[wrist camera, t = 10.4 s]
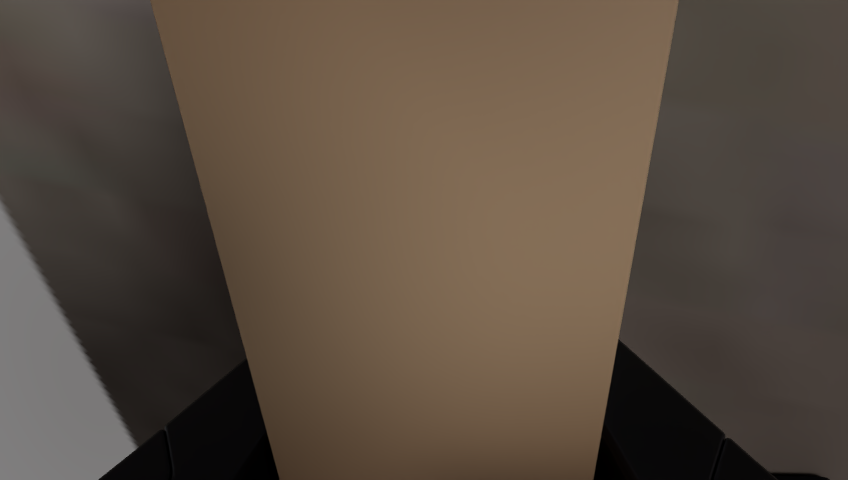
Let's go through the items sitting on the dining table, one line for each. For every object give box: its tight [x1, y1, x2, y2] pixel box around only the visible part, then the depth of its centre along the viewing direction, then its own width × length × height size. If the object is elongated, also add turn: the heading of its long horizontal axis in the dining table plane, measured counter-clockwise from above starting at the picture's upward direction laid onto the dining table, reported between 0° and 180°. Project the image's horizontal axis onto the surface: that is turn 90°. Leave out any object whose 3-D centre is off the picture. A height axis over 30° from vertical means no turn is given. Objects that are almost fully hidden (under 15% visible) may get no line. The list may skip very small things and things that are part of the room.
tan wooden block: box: [150, 0, 679, 480], centre depth 7 cm, size 14×3×5 cm, turn 2°
